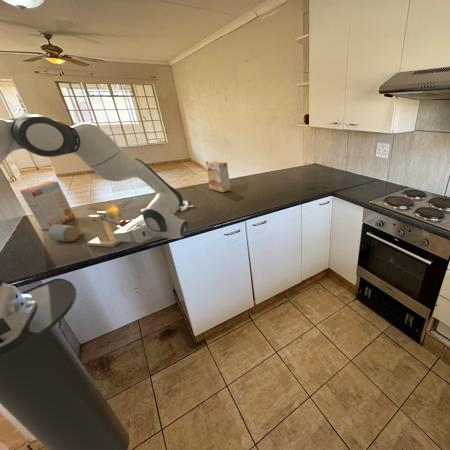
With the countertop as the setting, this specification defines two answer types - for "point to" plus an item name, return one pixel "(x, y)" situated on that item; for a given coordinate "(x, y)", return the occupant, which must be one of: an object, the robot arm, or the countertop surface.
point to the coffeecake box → (218, 175)
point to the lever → (112, 220)
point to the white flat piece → (180, 206)
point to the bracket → (102, 231)
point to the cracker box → (48, 204)
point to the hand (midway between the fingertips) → (121, 225)
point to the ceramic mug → (64, 233)
